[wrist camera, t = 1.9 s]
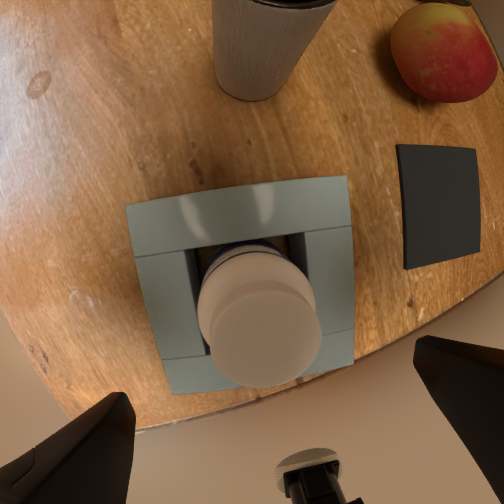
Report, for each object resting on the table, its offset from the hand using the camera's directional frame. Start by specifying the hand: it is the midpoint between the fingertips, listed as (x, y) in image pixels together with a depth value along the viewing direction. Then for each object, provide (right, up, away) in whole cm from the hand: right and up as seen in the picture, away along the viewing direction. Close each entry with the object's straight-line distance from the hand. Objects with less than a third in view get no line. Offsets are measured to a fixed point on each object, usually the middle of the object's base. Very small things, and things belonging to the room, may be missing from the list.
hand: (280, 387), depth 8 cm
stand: (-1, +2, +11) cm, 11 cm away
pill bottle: (-1, +2, +11) cm, 11 cm away
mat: (+14, +8, +11) cm, 20 cm away
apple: (+12, +18, +9) cm, 23 cm away
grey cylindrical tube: (-1, +15, +8) cm, 17 cm away
